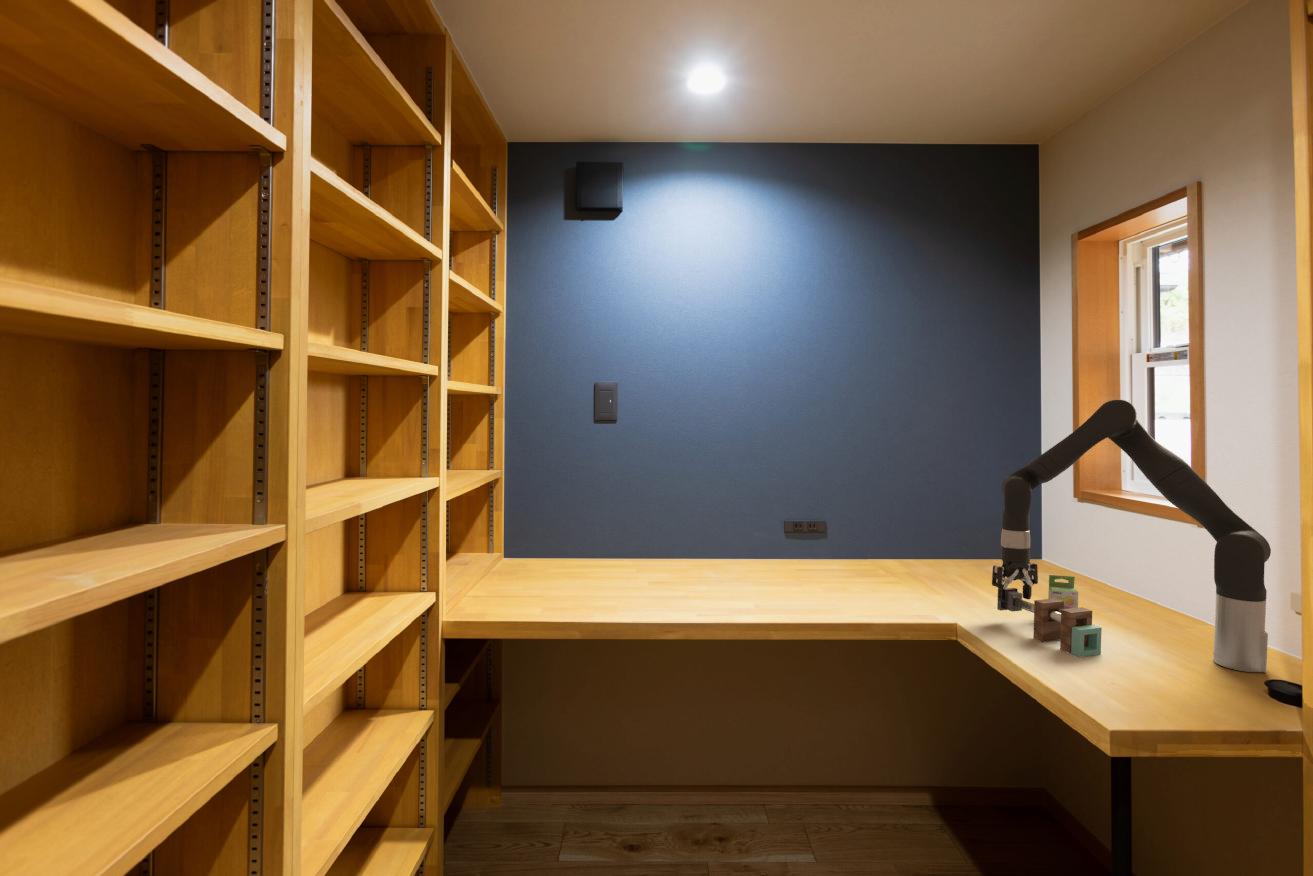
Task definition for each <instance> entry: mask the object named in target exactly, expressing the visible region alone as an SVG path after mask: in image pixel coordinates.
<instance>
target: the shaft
mask: <svg viewBox="0 0 1313 876" xmlns="http://www.w3.org/2000/svg"><path fill="white" fill-rule="evenodd" d="M1006 589H1007V602H1002V601H1000V600H999V598H998V597H997V602H996V603H997V604H996V605H997V607H996V609H997V611H1010V612H1019V611H1022V610H1025V611H1027V612H1030V613H1033V614H1034V602H1033V603H1032V602H1029V601H1026V600H1023V592H1022V593H1021V592H1018V588H1016V587H1007V588H1006ZM1048 618H1049V619H1052V620H1055V621H1057V622H1060V623H1061V613H1058V612H1056V611H1053V610H1050V609H1048ZM1078 624H1079V621H1078V619H1076V627H1077V626H1078Z"/></svg>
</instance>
